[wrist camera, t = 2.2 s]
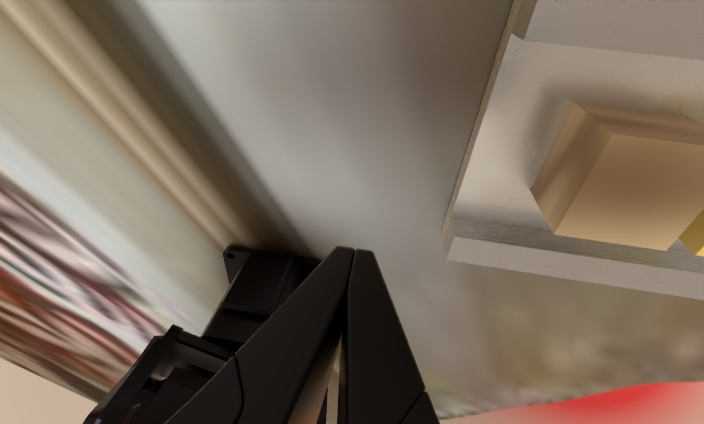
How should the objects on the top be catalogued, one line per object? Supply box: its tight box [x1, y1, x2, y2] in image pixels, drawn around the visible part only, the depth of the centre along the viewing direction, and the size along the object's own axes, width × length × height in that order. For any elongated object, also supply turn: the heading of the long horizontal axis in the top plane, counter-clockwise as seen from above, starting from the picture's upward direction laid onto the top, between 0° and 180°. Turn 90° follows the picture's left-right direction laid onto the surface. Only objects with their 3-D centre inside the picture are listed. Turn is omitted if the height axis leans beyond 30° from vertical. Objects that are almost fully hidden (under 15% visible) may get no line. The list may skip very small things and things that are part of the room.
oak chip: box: [530, 102, 704, 251], centre depth 12 cm, size 4×4×3 cm
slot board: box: [442, 0, 704, 300], centre depth 13 cm, size 11×14×2 cm
